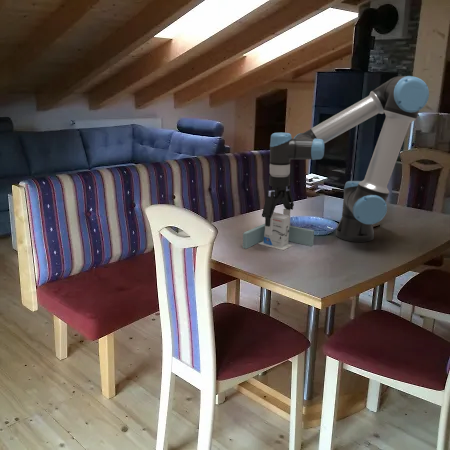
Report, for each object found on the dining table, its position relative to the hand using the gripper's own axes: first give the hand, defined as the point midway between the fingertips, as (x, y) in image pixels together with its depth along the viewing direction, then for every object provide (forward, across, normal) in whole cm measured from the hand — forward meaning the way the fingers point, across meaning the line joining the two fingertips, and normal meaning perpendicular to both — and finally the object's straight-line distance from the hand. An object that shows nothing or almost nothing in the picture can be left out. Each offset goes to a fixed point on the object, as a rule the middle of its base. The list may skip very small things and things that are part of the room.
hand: (277, 229), depth 194 cm
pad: (+6, 0, 0) cm, 6 cm away
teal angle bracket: (+6, +1, +2) cm, 6 cm away
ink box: (+6, 0, 0) cm, 6 cm away
